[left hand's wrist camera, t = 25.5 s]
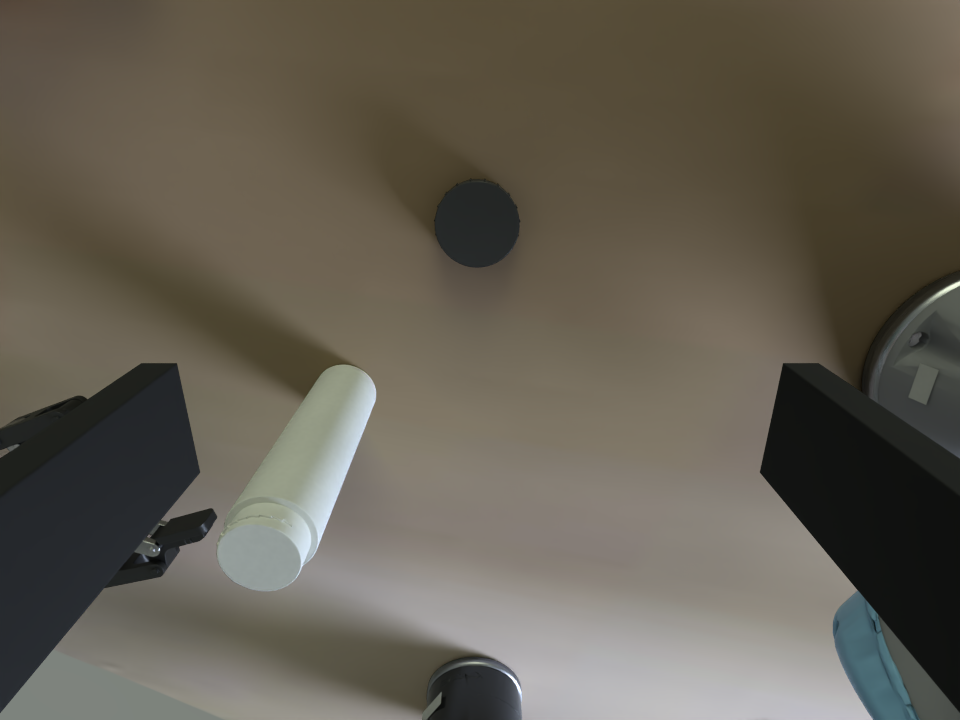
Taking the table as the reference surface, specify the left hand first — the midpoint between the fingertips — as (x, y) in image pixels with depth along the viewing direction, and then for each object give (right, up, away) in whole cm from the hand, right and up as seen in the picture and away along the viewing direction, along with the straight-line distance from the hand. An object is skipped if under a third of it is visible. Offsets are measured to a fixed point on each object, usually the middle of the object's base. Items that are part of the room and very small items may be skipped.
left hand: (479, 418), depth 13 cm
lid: (0, +10, +26) cm, 28 cm away
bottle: (-11, -1, +32) cm, 34 cm away
